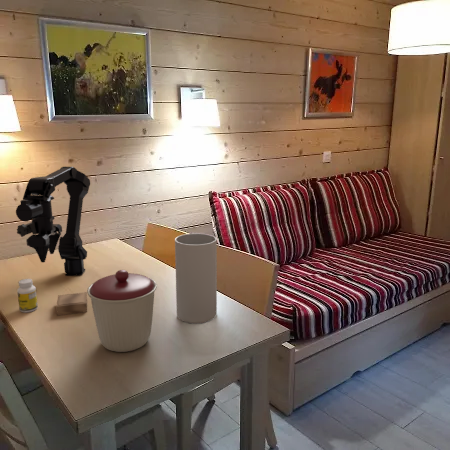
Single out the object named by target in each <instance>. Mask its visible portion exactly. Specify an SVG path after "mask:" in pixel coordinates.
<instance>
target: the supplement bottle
mask: <svg viewBox="0 0 450 450" xmlns="http://www.w3.org/2000/svg"><path fill="white" fill-rule="evenodd" d="M33 283H34V282H33V279H32V278H22V279H21V280H18V287H17V289H16V291H17V299H18V308H19V311H20V312H22V313H31V312H34V311H37V309H38V308H39V307H38V297H37V290H36V289H37V287H36V286H35V285H34V284H33Z"/></svg>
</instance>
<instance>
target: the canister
mask: <svg viewBox="0 0 450 450" xmlns="http://www.w3.org/2000/svg"><path fill="white" fill-rule="evenodd" d="M157 288H158V284H157V282H156V281H155V280H154V279H153V278H151V277H148V276H146V275H144V274H141V273H134V272H133V273H131V272H130V273H129V272H128V271H127V270H125V269H119V270H117V271H116V272H115V273H114V274H111V275H107V276H104V277H101V278H100V279H97V280H96V281H94V282H93V283H91V284H89V286H88V287H87V291H86V292H87V296H88V297H89V298H90V301H91V305H92V306H91V307H92V312H93V316H94V321H95V326H96V330H97V334H98V339H99V340H100V344H101V345H102V346H103V347H104V348H105V349H107V350H109V351H110V352H111V351H112V352H117V353H118V352H119V353H126V352H127V353H128V352H132V351H136V350H138V349H140V348H142V347H143V346H144V345H146V344H147V343H148V341H149V339H150V336H151V333H152V325H153V315H154V304H155V303H154V302H155V291H157Z"/></svg>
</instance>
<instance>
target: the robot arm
mask: <svg viewBox="0 0 450 450" xmlns="http://www.w3.org/2000/svg"><path fill="white" fill-rule="evenodd" d="M63 183H64V184H65V185H66V191H67V193H68V195H69V202H68V210H67V211H68V212H67V219H66V227H65V233H64V235H62V232H63V227H62V225H61V224H59V223H54V220H55V218H56V217H55V215H53V208H52V201H54V199H55V198H54V196H52V194H53V193H54V192H55V191H56V187H57V186H59V185H61V184H63ZM90 186H91V180H90V178H89V177H88V176H87V175H86V174H85V173H83V172H82V171H79V170H78V169H77V168H76V167H74V166H61V167H60V169H59V168H58V169H57V170H55V171H53V172H51V173H49V174H47V175H46V176H36V177H31V178H30V179H28V182H27V184H26V187H25V191H24V194H23V197H22V199H21V200H20V204H18V206H17V207H16V210H15V214H16V217H17V218H18V220H20V221H22V222H29V221H31V222H29V223H22V224H18V225H17V229H16V233H17V235H19V236H21V238H23V237H25V236H27V235H30V234H31V235H30V236H29V237H28V238H26V240H25V241H26V246H27V247H30V248H32V249H34V250H35V252H36V254H37V257H38V258H39V260H40V262H41V263H46V261H47V256H48V251H49V254H50V255H53V254H54V253H55V250H56V247H58V248H57V249H58V250H57V251H58V254H59V257H60V259H61V260H64V262H63V266H64V273H65V274H64V276H67V277H69V276H74V277H75V276H83V275H84V273H85V272H86V268H85V266H84V265H85V263H84V260H87V258H88V251H87V250H86V249H85V247H83V240H82V238H81V235H80V229H81V221H82V211H83V203H84V198H85V197H86V196H87V194H88V193H89V190H90ZM61 235H62V236H61ZM57 245H58V246H57Z"/></svg>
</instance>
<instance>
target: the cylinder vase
mask: <svg viewBox="0 0 450 450" xmlns="http://www.w3.org/2000/svg"><path fill="white" fill-rule="evenodd" d="M217 241H218V239H217V236H214V235H212V234H207V233H196V232H195V233H187V234H186V233H184V234H181V235H178V236H177V237H175V238H174V253H175V255H174V257H175V261H174V262H175V292H176V293H175V295H176V296H175V298H176V299H175V300H176V302H175V303H176V315H177V316H176V317H177V318H178V319H179V320H180V321H182V322H184V323H188V324H203V323H208V322H211V321H212V320H213V319H215V318H216V316H217V309H218V307H217V305H218V304H217V303H218V302H217V301H218V300H217V297H218V296H217V295H218V292H217V291H218V290H217V289H218V286H217V285H218V284H217V283H218V282H217V279H218V275H217V274H218V273H217V271H218V269H217V267H218V265H217V264H218V263H217V262H218V257H217V253H218V252H217V250H218V248H217V244H218V243H217Z"/></svg>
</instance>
